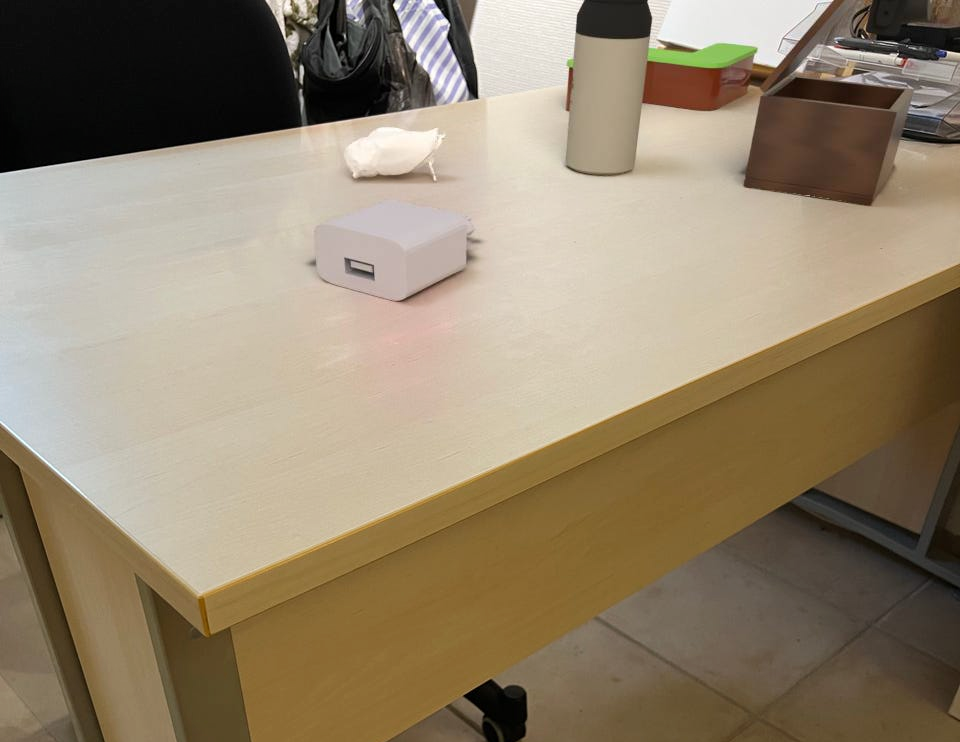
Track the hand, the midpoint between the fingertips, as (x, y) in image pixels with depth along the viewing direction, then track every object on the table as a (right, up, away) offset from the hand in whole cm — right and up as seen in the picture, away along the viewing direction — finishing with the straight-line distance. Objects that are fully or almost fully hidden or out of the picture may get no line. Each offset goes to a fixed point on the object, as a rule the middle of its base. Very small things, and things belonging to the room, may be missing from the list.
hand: (887, 27), depth 97 cm
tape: (-1, +3, -2) cm, 3 cm away
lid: (-5, +2, +1) cm, 6 cm away
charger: (-48, -30, -14) cm, 58 cm away
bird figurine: (-52, -12, +7) cm, 54 cm away
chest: (-3, -11, +11) cm, 15 cm away
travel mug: (-28, -8, +13) cm, 32 cm away
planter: (-15, +16, +42) cm, 48 cm away
